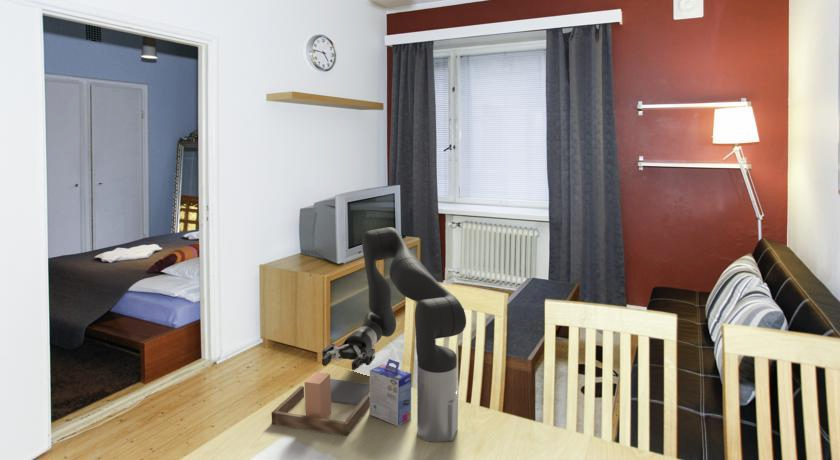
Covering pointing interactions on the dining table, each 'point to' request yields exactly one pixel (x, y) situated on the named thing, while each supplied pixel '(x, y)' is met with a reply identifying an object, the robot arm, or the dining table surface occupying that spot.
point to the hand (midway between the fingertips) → (338, 364)
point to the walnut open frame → (315, 423)
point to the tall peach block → (318, 395)
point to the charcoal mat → (348, 391)
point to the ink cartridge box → (390, 393)
